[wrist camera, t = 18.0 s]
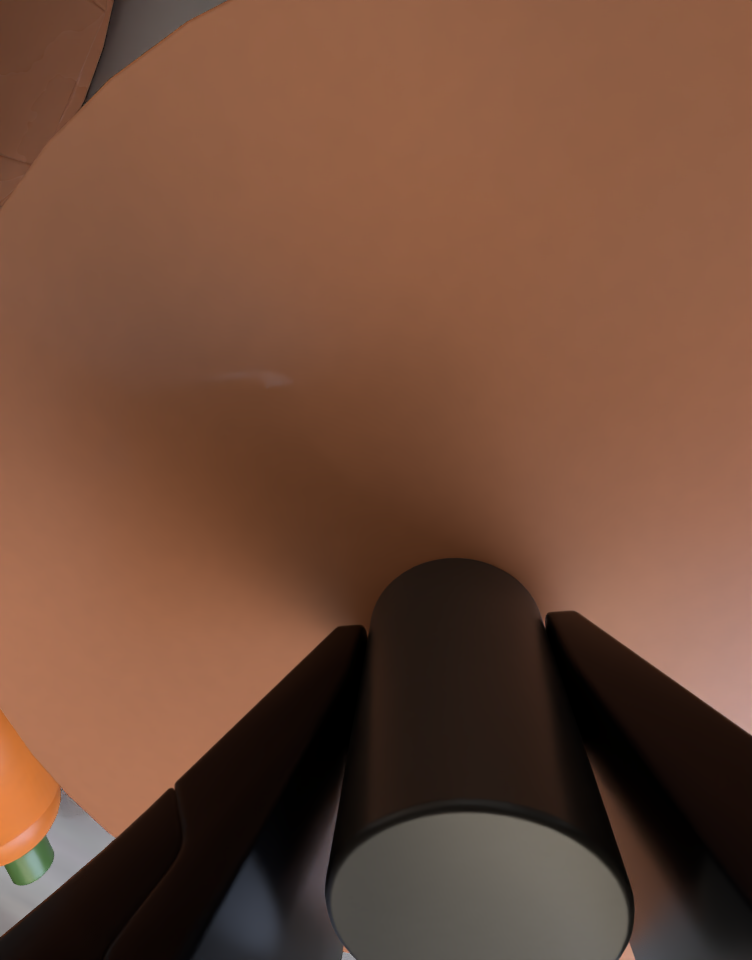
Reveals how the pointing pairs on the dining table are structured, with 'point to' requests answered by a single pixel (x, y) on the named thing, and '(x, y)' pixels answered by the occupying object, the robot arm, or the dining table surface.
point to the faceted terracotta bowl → (43, 74)
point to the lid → (387, 425)
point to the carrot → (24, 808)
